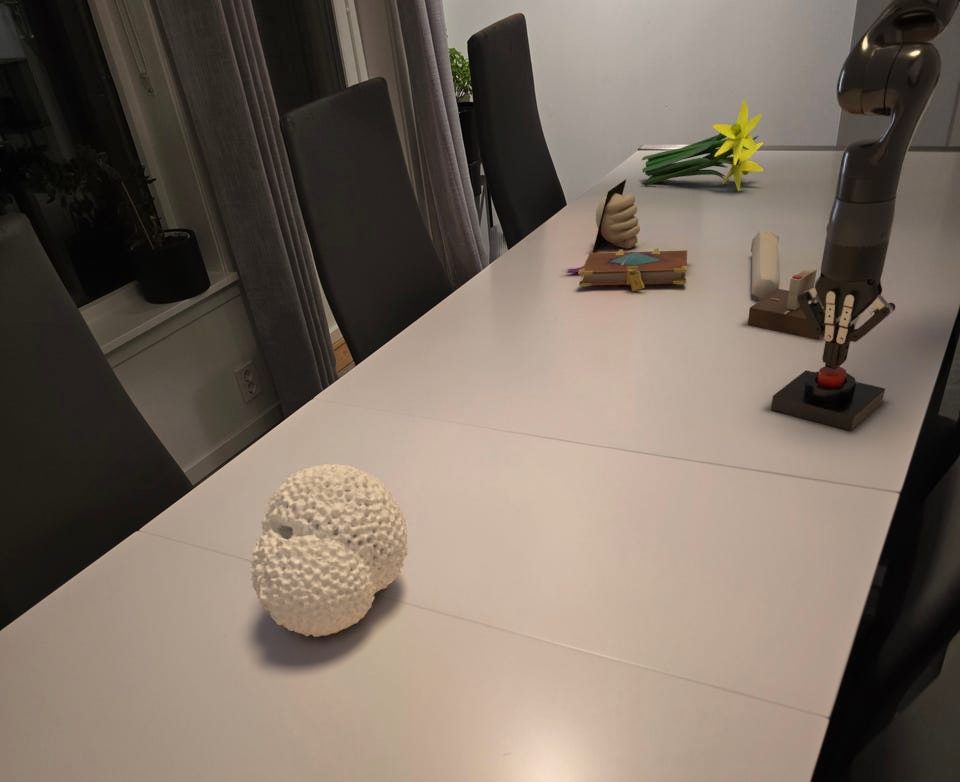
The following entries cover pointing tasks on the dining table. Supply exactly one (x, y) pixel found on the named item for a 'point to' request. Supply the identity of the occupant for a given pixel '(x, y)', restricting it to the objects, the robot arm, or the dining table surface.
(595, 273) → the book
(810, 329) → the knob panel
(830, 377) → the button
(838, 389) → the button box
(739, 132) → the daffodil flowers
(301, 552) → the cream bumpy rounded lump
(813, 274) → the knob
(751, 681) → the dining table surface
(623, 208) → the decorative object
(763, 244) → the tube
